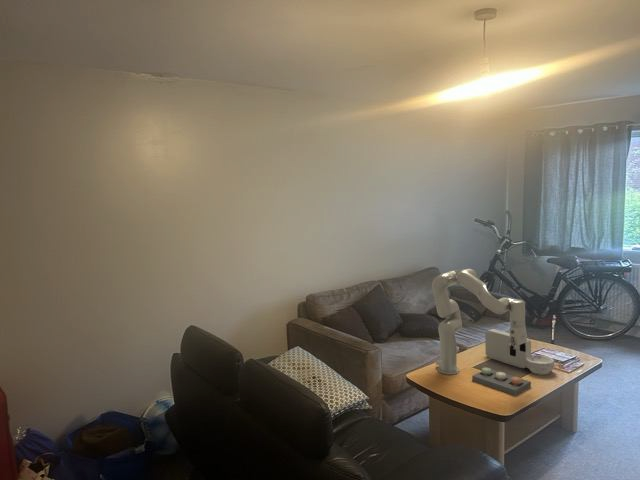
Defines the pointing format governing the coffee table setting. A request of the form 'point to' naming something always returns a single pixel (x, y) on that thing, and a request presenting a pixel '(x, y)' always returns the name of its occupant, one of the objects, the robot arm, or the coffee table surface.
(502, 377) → the cream button
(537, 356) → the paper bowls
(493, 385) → the console
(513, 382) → the terracotta button
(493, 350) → the rounded white slab
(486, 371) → the sage button
